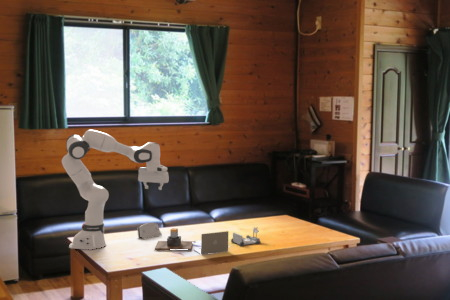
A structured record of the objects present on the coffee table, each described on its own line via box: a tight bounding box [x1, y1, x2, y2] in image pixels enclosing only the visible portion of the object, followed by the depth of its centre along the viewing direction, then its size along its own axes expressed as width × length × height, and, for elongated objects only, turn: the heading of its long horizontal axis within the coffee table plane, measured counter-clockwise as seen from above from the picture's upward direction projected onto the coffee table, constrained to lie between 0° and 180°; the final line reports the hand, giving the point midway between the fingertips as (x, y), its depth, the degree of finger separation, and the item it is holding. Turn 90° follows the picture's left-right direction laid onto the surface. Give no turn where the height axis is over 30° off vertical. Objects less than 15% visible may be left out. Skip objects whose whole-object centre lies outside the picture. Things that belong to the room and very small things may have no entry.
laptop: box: [200, 230, 229, 255], centre depth 373 cm, size 18×12×13 cm
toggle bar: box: [169, 227, 179, 239], centre depth 381 cm, size 4×4×10 cm
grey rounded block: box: [137, 222, 163, 239], centre depth 409 cm, size 17×5×10 cm, turn 136°
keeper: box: [154, 235, 194, 251], centre depth 381 cm, size 22×18×6 cm
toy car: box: [230, 226, 261, 247], centre depth 394 cm, size 18×10×12 cm
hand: (153, 189), depth 386 cm, fingers open, 8 cm apart
